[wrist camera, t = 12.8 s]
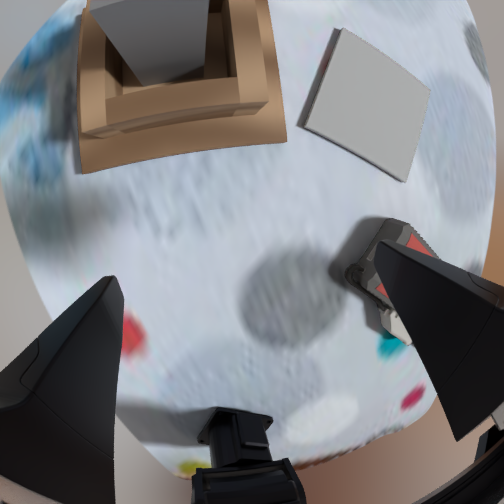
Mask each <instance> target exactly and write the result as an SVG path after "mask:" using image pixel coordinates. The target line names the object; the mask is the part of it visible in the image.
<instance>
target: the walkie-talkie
mask: <svg viewBox="0 0 504 504" xmlns="http://www.w3.org/2000/svg"><path fill="white" fill-rule="evenodd" d="M381 240H391V241H394V242H396V243H399V244H402V245H404V246H407V247H409V248H412V249H415V250H417V251H420V252H422V253H425V254H427V255H430V256H432V257H434V258H437V259H439V257H438V256H437V255H436V253H434V251H433V250H432V249H431V247H429V245H428V244H427V243H426V241H424V240H423V238H422V237H420V234H418V233H417V231H416V230H414V228H413V227H411V226H410V224H409V223H406V222H403V221H400V220H397V219H388V220H386V221H385V222H384V224H383V225H382V227H381V229H380V230H379V232H378V233H377V235H376V236H375V238H374V240H373V241H372V243H371V244H370V246H369V247H368V249H367V250H366V252H365V253H364V255H363V256H362V258H361V259H360V261H359V262H358V264H352V265H350V266H349V267H348V268H347V269H346V271H345V277H346V279H347V281H348V282H349V283H350V284H351V285H353V286H354V287H356V288H357V289H359V290H360V291H362V292H363V293H364V294H366V295H367V296H369V297H370V298H372V299H373V300H374V301H376V302H377V305H378V307H379V308H378V310H379V311H380V317H381V324H382V326H383V327H384V328H385V329H386V330H387V331H388V332H390V333H391V334H392V335H394V336H395V337H397V338H399V339H400V340H401V341H402V342H403V343H404V344H406V345H407V346H409V345H410V344H411V342H412V340H411V338H410V336H409V334H408V333H407V331H406V329H405V327H404V325H403V323H402V321H401V319H400V318H399V316H398V314H397V312H396V310H395V309H394V307H393V305H392V303H391V301H390V299H389V297H388V295H387V293H386V291H385V289H384V287H383V284H382V282H381V280H380V278H379V276H378V274H377V271H376V269H375V267H374V263H373V260H374V255H375V251H376V246H377V243H378V242H379V241H381ZM439 260H441V259H439ZM352 273H353V276H354V280H355V281H356V282H355V281H354V280H353V279H352ZM382 301H383V302H382ZM412 343H413V342H412Z"/></svg>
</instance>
